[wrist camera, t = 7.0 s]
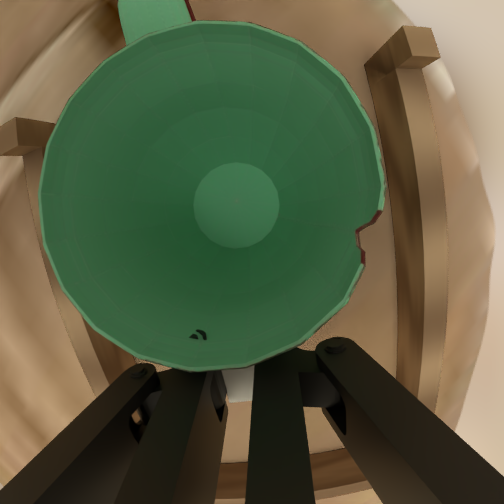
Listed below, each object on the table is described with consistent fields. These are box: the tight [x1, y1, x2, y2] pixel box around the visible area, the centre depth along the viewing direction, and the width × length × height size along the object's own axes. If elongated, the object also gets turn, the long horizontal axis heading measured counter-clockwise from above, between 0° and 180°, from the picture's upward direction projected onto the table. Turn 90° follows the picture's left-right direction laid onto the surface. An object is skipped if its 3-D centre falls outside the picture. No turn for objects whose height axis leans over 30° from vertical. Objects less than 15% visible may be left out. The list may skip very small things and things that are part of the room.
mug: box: [38, 0, 386, 372], centre depth 12 cm, size 15×10×10 cm
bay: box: [0, 26, 448, 504], centre depth 15 cm, size 29×25×10 cm
